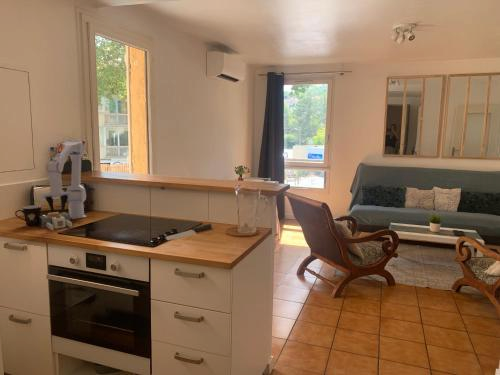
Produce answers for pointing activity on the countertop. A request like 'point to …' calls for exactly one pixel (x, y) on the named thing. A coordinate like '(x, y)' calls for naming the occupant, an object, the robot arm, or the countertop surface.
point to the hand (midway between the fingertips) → (57, 210)
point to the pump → (58, 222)
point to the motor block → (48, 218)
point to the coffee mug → (31, 215)
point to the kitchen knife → (189, 232)
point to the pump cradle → (53, 226)
